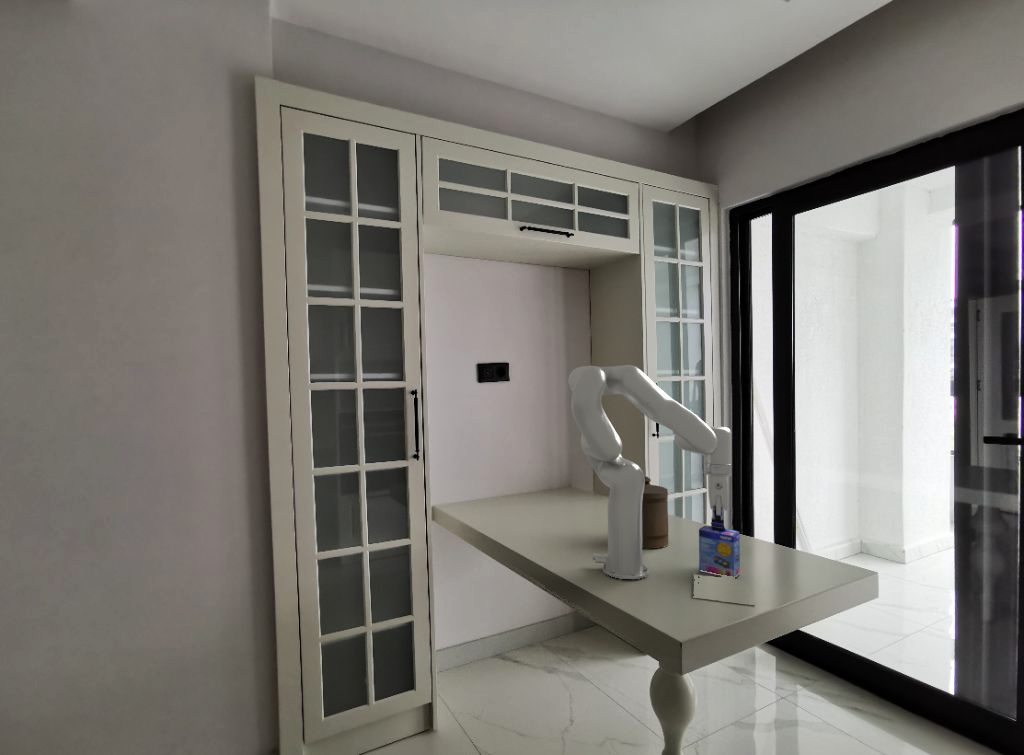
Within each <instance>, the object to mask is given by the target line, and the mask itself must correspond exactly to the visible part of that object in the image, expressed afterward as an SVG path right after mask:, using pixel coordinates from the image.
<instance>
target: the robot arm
mask: <svg viewBox="0 0 1024 755" xmlns="http://www.w3.org/2000/svg"><path fill="white" fill-rule="evenodd" d="M567 381H568V382H567V383H568V387H569V389H570V390H571V391H572V393H571V399H570V409H571V413H572V417H573V420H574V422H575V423H576V426H577V427H578V429H579V430H580V433H581V436H580V446H581V450H582V452H583V454H584V456H585V458H587V461H588V463H589V465H591V467H592V469H593V470H594V472H595V474H596V476H597V477H598V479H599V480H600V481H601V483H602V484H603V485H605V486H606V487H608V488H609V495H608V500H607V552H606V553H604V554H600V553H593V554H592V561H595V563H596V564H602V570H601V571H602V573H603V574H604V575H606V574H607V575H606V576H608V575H609V576H608V577H610V576H611V577H610V578H612V577H615V578H614V579H616V578H619V579H618V580H622V579H638V580H641V579H640V578H642V579H644V578H643V577H645V576H646V577H648V575H649V569H648V567H647V566H645V565H644V564H643V549H642V500H643V492H644V485H645V478H644V477H645V474H644V471H643V470H642V469H641V467H640V466H639V465H638V464H637V463H635V462H634V461H631V460H629V459H626V458H624V457H623V456H622V452H623V442H622V439H621V437H620V435H619V434H618V433H617V431H616V430H615V428H614V425H613V424H612V423H611V421H610V419H609V418H608V416H607V414H606V412H605V410H604V407H603V404H602V397H603V395H606V396H607V395H622V396H624V397H625V398H626V399H627V400H628V401H629V402H630V403H631V404H633V406H634V407H636V408H637V410H639V411H640V412H641V413H642V414H643V415H644V416H645V417H647V418H648V419H649V420H650V421H652V422H654V423H657V424H659V425H661V426H662V427H666V428H667V429H668V430H670V431H672V432H673V433H674V442H675V444H676V446H677V447H678V448H679V449H680V450H682V451H686V452H689V453H691V454H692V453H693V454H697V455H701V456H703V474H704V475H705V476H706V475H707V492H708V502H709V508H710V510H711V511H712V512H711V514H712V515H711V522H714V523H721V524H724V525H725V522H724V521H725V520H724V510H725V511H726V512H728V511H729V510H730V506H729V505H730V503H729V502H730V501H729V499H730V498H729V479H728V478H729V477H731V476H732V431H731V429H730V428H729V427H726V426H716V425H715V426H709V425H708V424H707V423H705V422H704V420H702V419H701V418H700V417H699V416H698V415H697V414H695V413H694V412H693V411H691V410H689V409H688V408H687V407H685V406H684V405H682V404H681V403H679V402H678V401H677V400H675V399H673V398H672V397H671V396H669V395H668V394H667V393H666V392H665V391H664V390H663V389H662V388H660V387H659V386H658V385H657V384H656V383H655V382H654V381H653V380H652V379H651V378H650V377H649V376H648V375H647V374H645V373H644V371H642V370H641V369H640V368H639V367H637V366H635V365H632V364H625V365H623V364H622V365H615V366H613V365H612V366H596V365H585V366H578V367H576V368H575V369H573V370H572V371H571V372H570V374H569V376H568V380H567ZM714 526H715V527H722V526H719V525H714ZM646 577H645V578H646Z"/></svg>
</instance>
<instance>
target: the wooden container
mask: <svg viewBox="0 0 1024 755" xmlns="http://www.w3.org/2000/svg"><path fill="white" fill-rule="evenodd" d="M644 478H645V485H644V492H643V500H642V548H659V549H661V548H660V547H664V546H666V545H668V546H669V511H668V510H669V509H668V508H669V507H668V505H669V504H668V499H669V498H668V497H669V492H668V488H666V487H664V486H661V485H655V484H651V483H650V482H651V481H652V479H651V478H650V477H649V476H645V475H644ZM666 547H667V546H666ZM664 548H665V547H664Z"/></svg>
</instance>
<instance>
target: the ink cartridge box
mask: <svg viewBox="0 0 1024 755" xmlns="http://www.w3.org/2000/svg"><path fill="white" fill-rule="evenodd" d="M714 525H719V526H722V527H715V526H714ZM740 540H741V539H740V531H738V530H734V529H729V528H728V529H727V528H726V526H725V523H724V524H721V523H714V522H712V521H710V525H703V526H702V527H700V528H699V529H698V555H699V556H698V559H699V560H698V571H699V570H703V571H707V572H712V573H716V574H721V575H727V576H733V577H734V576H736V575H737V574H738V573H739V572H740V573H741V558H740V556H741V555H740V554H741V553H740V552H741V550H740V548H741V546H740Z"/></svg>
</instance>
